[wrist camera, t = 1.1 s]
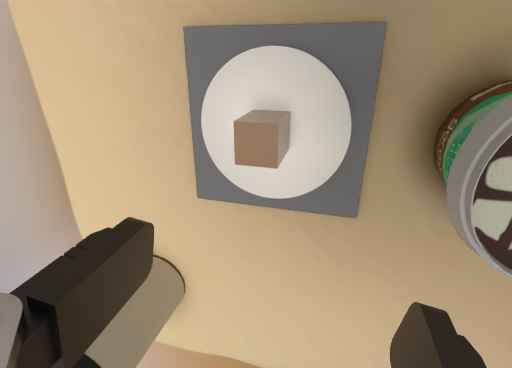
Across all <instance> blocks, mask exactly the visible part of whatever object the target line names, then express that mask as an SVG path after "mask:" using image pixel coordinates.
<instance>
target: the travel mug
mask: <svg viewBox="0 0 512 368" xmlns="http://www.w3.org/2000/svg"><path fill="white" fill-rule="evenodd" d="M183 296H184V284H183V281H182V279H181V277H180V275H179V274H178V272H177V271H176V270H175V269H174V268H173V267H172V266H171V265H170V264H168V263H167V262H165V261H164V260H162V259H159V258H157V257H153V264H152V268H151V271H150V273H149V275H148V277H147V279H146V280H145V281H144V283H143V284H142V285H141V286H140V287H139V289H138V290H137V291H136V292H135V293H134V295H133V296H132V297H131V298H130V299H129V300H128V302H127V303H126V304H125V305H124V306H123V308H122V309H121V310H120V311H119V312H118V314H117V315H116V316H115V317H114V318H113V320H112V321H111V322H110V323H109V324H108V325H107V327H106V328H105V329H104V330H103V331H102V333H101V334H100V335H99V336H98V337H97V339H96V340H95V341H94V342H93V343H92V345H91V346H90V347H89V348H88V349H87V350H86V352H85V353H84V354H83V355H82V356H81V358H80V359H79V360H78V361H77V362H76V364H75V365H74V366H73V367H72V368H136V366H137V365H138V363H139V362H140V361H141V359H142V358H143V356H144V355H145V353H146V351H147V350H148V349H149V347H150V346H151V344H152V343H153V341H154V340H155V338H156V337H157V335H158V334H159V332H160V331H161V329H162V328H163V326H164V325H165V323H166V322H167V320H168V319H169V317H170V316H171V314H172V313H173V311H174V310H175V308H176V307H177V305H178V304H179V302H180V301H181V299H182V298H183Z"/></svg>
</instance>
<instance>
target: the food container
mask: <svg viewBox="0 0 512 368" xmlns="http://www.w3.org/2000/svg"><path fill="white" fill-rule="evenodd" d="M434 161H435V164H436V167H437V170H438V171H439V173H440V175H441V177H442V179H443V181H444V183H445V185H446V187H447V189H446V200H447V209H448V212H449V216H450V219H451V222H452V224H453V226H454V228H455V229H456V231H457V233H458V235H459V236H460V237H461V238H462V240H463V241H464V242H465V243H466V244H467V246H469V247H470V248H471V249H472V250H473V251H474V252H476V253H477V254H478V255H479V256H480V257H482V258H483V259H484V260H485V261H486V262H488V263H489V264H490V265H491V266H493V267H494V268H496V269H497V270H499V271H501V272H502V273H504V274H505V275H507V276H510V277H512V81H508V82H504V83H500V84H496V85H493V86H490V87H488V88H486V89H484V90H482V91H480V92H478V93H476V94H474V95H472V96H470V97H469V98H467V99H466V100H465V101H464V102H463V103H461V104H460V105H459V106H458V107H456V108H455V109H454V110H453V111H452V112H451V113H450V114H449V116H448V117H447V119H446V120H445V122H444V123H443V124H442V126H441V127H440V129H439V131H438V134H437V137H436V140H435V143H434Z"/></svg>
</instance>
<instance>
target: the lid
mask: <svg viewBox="0 0 512 368" xmlns="http://www.w3.org/2000/svg"><path fill="white" fill-rule="evenodd" d="M201 126H202V134H203V138H204V142H205V145H206V148H207V150H208V153H209V155H210V156H211V158H212V160H213V162H214V163H215V165H216V166H217V168H218V169H219V170H220V171H221V172H222V174H223V175H224V176H225V177H227V178H228V179H229V180H230V181H231V182H232V183H234V184H235V185H236V186H238V187H240V188H241V189H243V190H245V191H247V192H249V193H252V194H255V195H258V196H261V197H267V198H276V199H282V198H291V197H297V196H300V195H303V194H306V193H308V192H310V191H312V190H314V189H316V188H317V187H319V186H320V185H322V184H323V183H324V182H326V181H327V180H328V179H329V178H330V177H331V176H332V175H333V174H334V172H335V171H336V170H337V168H338V167H339V166H340V164H341V162H342V160H343V158H344V156H345V154H346V152H347V149H348V146H349V141H350V136H351V111H350V107H349V102H348V99H347V96H346V93H345V91H344V89H343V87H342V85H341V83H340V81H339V80H338V79H337V77H336V76H335V75H334V73H333V72H332V71H331V70H330V69H329V68H328V67H327V66H326V65H325V64H324V63H323V62H321V61H320V60H319V59H317V58H316V57H314V56H312V55H310V54H308V53H307V52H304V51H301V50H299V49H295V48H291V47H286V46H262V47H258V48H253V49H250V50H248V51H245V52H243V53H241V54H239V55H237V56H236V57H234V58H232V59H231V60H230V61H229V62H227V63H226V64H225V65H224V66H223V67H222V68H221V69H220V70H219V71H218V73H217V74H216V75H215V77H214V78H213V79H212V81H211V83H210V85H209V87H208V89H207V92H206V94H205V97H204V101H203V105H202V113H201Z"/></svg>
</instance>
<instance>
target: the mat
mask: <svg viewBox="0 0 512 368" xmlns="http://www.w3.org/2000/svg"><path fill="white" fill-rule="evenodd" d="M386 25H387V22H365V23H323V24H280V25H238V26H195V27H183V31H184V42H185V54H186V66H187V78H188V90H189V102H190V114H191V126H192V138H193V149H194V161H195V173H196V185H197V197H198V198H201V199H209V200H217V201H224V202H232V203H240V204H248V205H256V206H263V207H271V208H279V209H287V210H295V211H302V212H310V213H318V214H326V215H334V216H341V217H349V218H357V213H358V206H359V200H360V193H361V187H362V180H363V174H364V167H365V161H366V154H367V148H368V142H369V135H370V129H371V122H372V116H373V109H374V103H375V96H376V90H377V83H378V77H379V70H380V64H381V57H382V51H383V44H384V38H385V31H386ZM262 46H286V47H291V48H295V49H299V50H301V51H304V52H307V53H308V54H310V55H312V56H314V57H316V58H317V59H319V60H320V61H321V62H323V63H324V64H325V65H326V66H327V67H328V68H329V69H330V70H331V71H332V72H333V73H334V75H335V76H336V77H337V79H338V80H339V81H340V83H341V85H342V87H343V89H344V91H345V93H346V96H347V99H348V102H349V107H350V111H351V136H350V141H349V146H348V149H347V152H346V154H345V156H344V158H343V160H342V162H341V164H340V166H339V167H338V168H337V170H336V171H335V172H334V174H333V175H332V176H331V177H330V178H329V179H328V180H327V181H326V182H324V183H323V184H322V185H320V186H319V187H317V188H316V189H314V190H312V191H310V192H308V193H306V194H303V195H300V196H297V197H291V198H282V199H276V198H267V197H261V196H258V195H255V194H252V193H249V192H247V191H245V190H243V189H241V188H240V187H238V186H236V185H235V184H234V183H232V182H231V181H230V180H229V179H228V178H227V177H225V176H224V175H223V174H222V172H221V171H220V170H219V169H218V168H217V166H216V165H215V163H214V162H213V160H212V158H211V156H210V155H209V153H208V150H207V148H206V145H205V142H204V138H203V134H202V126H201V113H202V105H203V101H204V97H205V94H206V92H207V89H208V87H209V85H210V83H211V81H212V79H213V78H214V77H215V75H216V74H217V73H218V71H219V70H220V69H221V68H222V67H223V66H224V65H225V64H226V63H227V62H229V61H230V60H231V59H232V58H234V57H236V56H237V55H239V54H241V53H243V52H245V51H248V50H250V49H253V48H258V47H262Z"/></svg>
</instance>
